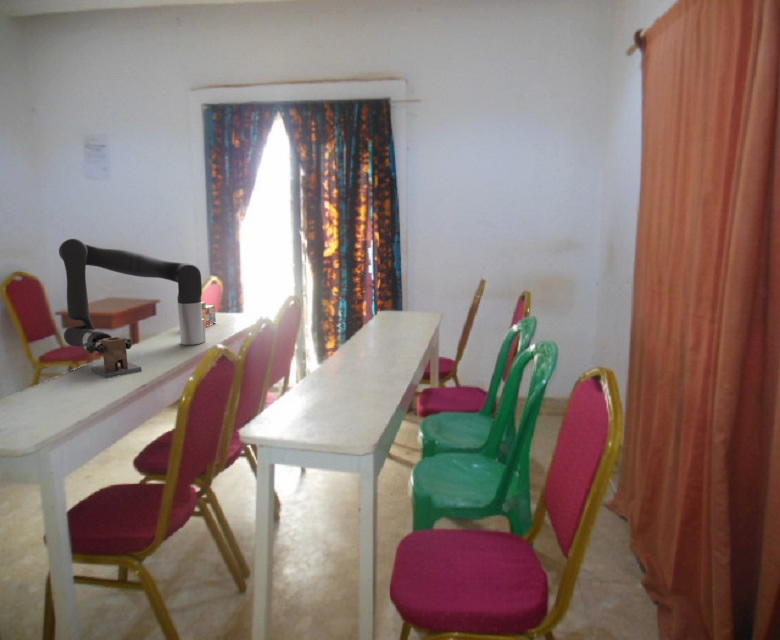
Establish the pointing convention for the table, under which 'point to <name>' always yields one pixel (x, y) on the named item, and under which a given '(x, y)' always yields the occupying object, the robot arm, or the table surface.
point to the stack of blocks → (208, 313)
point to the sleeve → (114, 352)
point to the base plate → (116, 370)
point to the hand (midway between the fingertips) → (116, 348)
